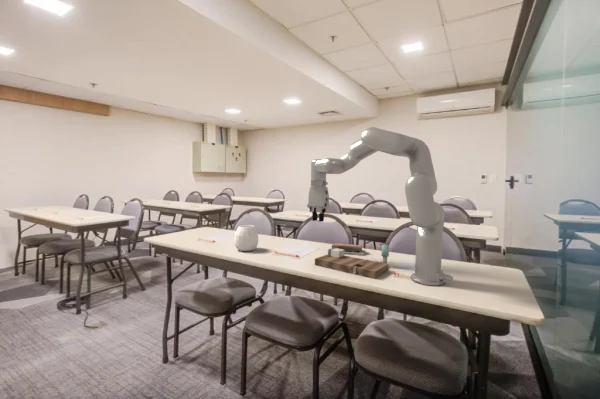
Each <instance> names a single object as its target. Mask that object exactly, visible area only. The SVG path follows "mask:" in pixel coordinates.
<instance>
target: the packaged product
mask: <svg viewBox="0 0 600 399" xmlns="http://www.w3.org/2000/svg"><path fill="white" fill-rule="evenodd" d="M331 248H338V249H344V255H347V256H348V255H349V256H360V257H362V256H365V255H366V249H363V245H360V244H350V243H338V242H337V243H336V242H334V243H333V244H331Z"/></svg>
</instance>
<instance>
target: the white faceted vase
mask: <svg viewBox="0 0 600 399" xmlns="http://www.w3.org/2000/svg"><path fill="white" fill-rule="evenodd" d="M258 233H259V232H258V231H257V229H256V227H255V225H253V224H243V225H239V226H238V227H237V228H236V230H235V233H234V246H235V248H236V249H237V250H238V251H241V252H250V251H251V252H252V251H254V250H255V249H257V247H258V246H259V234H258Z"/></svg>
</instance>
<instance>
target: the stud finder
mask: <svg viewBox="0 0 600 399" xmlns="http://www.w3.org/2000/svg"><path fill="white" fill-rule="evenodd" d="M327 254H328V256H332V257H337V258H340V257H342V256H345V254H344V249H338V248H332V247H331V248H328V249H327Z"/></svg>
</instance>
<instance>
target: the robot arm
mask: <svg viewBox="0 0 600 399" xmlns="http://www.w3.org/2000/svg"><path fill="white" fill-rule="evenodd" d="M377 152H381V153H385V154H388V155H392V156H396V157H397V156H398V157H405V158H408V161H409V164H408V165H409V170H410V176H409V178H408V179H407V180H406V182H405V184H404V186H405V187H404V192H405V193H404V194H405V197H406V203H407V210H408V214H409V218H410V220H411V222H412V224H413V225H414V226H416V233H415V234H416V235H415V257H414V258H415V261H414V262H415V264H414V265H415V266H414V273H412V274H410V279H411V281H413V282H415V283H417V284H421V285H425V286H442V285H444V284H445V283H446V281H447V282H453V280H454V277H453V276H452V275H451V274H447V273H444V269H442V261H443V260H442V257H443V255H442V254H443V237H444V236H443V233H444V225H445V217H446V216H445V214H446V213H445V210H444V207H443V206H442V205H441V204H440V203H438V202H437V201H435V199H434V195H435V194H436V192H437V191H438V183H437V179H436V174H435V173H436V172H435V169H434V165H433V160H432V159H433V158H432V155H431V154H432V153H431V151H430V148H429V146H428V145H427V144H426V143H425V141H424V140H422V139H420V138H417V137H413V136H409V135H406V134H402V133H399V132H396V131H390V130H386V129H381V128H378V127H374V126H372V127H371V126H370V127H367V128H366V129H365V130H363V131H362V132H361V135H360V138H359V139H358V140H356V141H354V142H352V143H351V144H350V146H349V152H348V153H346V154H344V155H343V156H340V157H339V158H335V157H334V158H333V157H332V158H331V157H325V158H315V159H312V160H311V162H310V187H309V191H308V198H307V199H308V200H307V202H308V203H307V205H306V207H307V208H308V209H309V210H310V212H311V214H312V220H311V221H312V222H314V221H317V220H318V222H320V223H321V222H324V221H325V214H326V211H328V210H329V209H330V208H331V206H330V195H329V194H330V193H329V188H328V187H327V185H329V183H328V181H327V175H342V174H343V173H346V172H348V171H349V170H351V169H353V168H355V166H357V165H358V164H359V163H360V162H361V161H362V160H364V159H366V158H368V157H369V156H372V155H373V154H375V153H377ZM317 208H319V214H318V212H317V210H318V209H317Z"/></svg>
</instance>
